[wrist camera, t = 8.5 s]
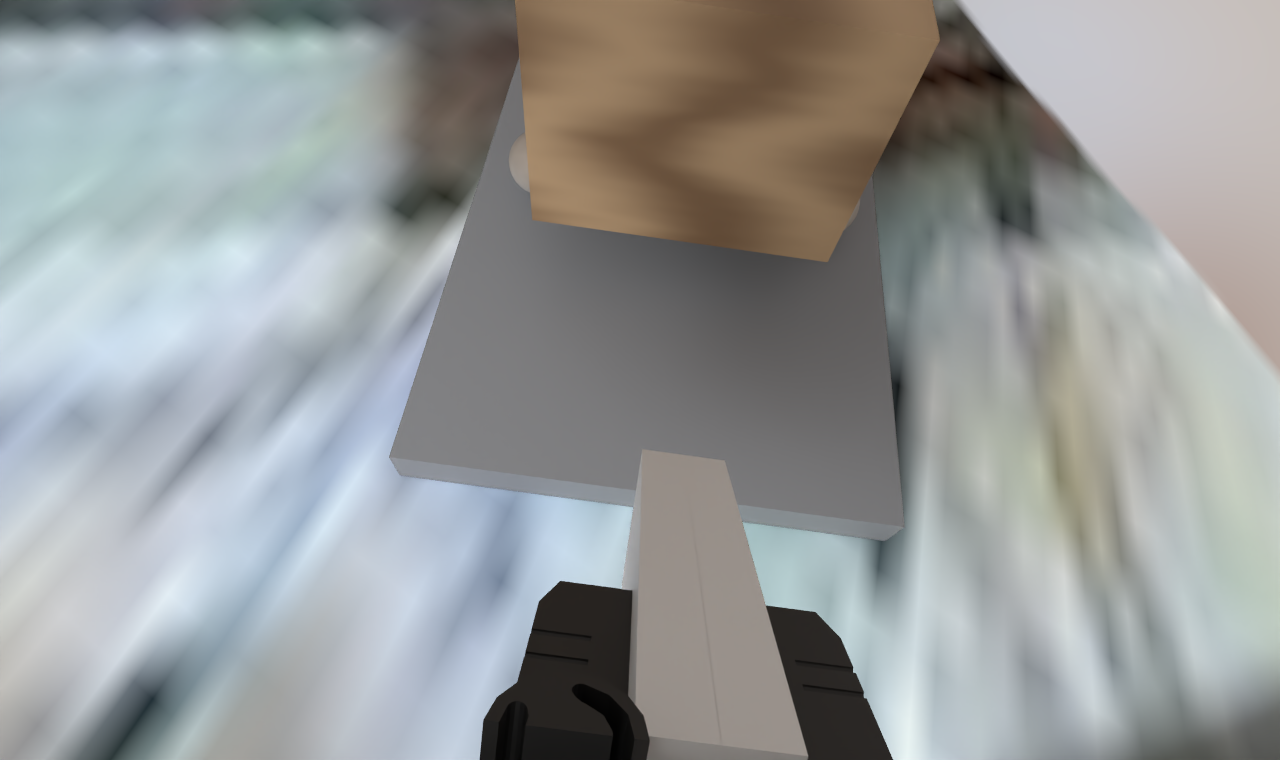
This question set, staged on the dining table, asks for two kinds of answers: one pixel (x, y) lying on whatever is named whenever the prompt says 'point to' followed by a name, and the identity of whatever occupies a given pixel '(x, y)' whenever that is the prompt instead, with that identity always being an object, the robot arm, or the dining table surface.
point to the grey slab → (656, 364)
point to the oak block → (713, 114)
